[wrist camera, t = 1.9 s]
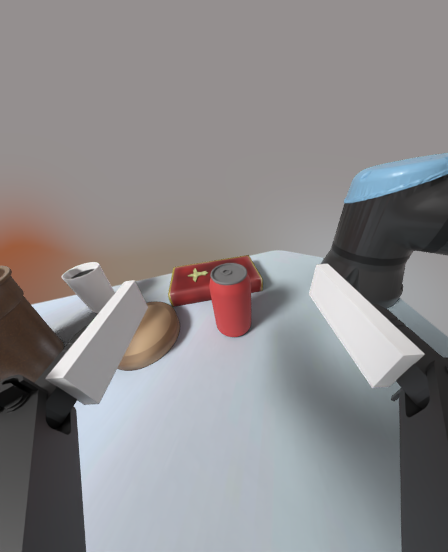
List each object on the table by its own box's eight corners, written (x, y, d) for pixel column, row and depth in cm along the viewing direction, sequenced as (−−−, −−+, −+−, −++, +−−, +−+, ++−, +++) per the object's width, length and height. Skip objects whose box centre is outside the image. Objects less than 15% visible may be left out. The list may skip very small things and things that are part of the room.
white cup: (121, 305, 39) (99, 270, 34) (89, 319, 36) (59, 284, 31) (118, 291, 44) (98, 259, 38) (89, 303, 41) (63, 270, 35)
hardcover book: (262, 292, 39) (263, 278, 36) (172, 308, 37) (167, 294, 35) (248, 266, 48) (248, 254, 46) (177, 278, 47) (173, 266, 45)
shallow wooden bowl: (185, 307, 36) (182, 299, 35) (170, 367, 26) (165, 359, 24) (128, 312, 37) (123, 304, 36) (91, 373, 26) (81, 365, 25)
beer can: (233, 306, 35) (228, 257, 28) (258, 322, 31) (259, 269, 24) (209, 325, 32) (198, 274, 25) (234, 346, 28) (228, 292, 21)
